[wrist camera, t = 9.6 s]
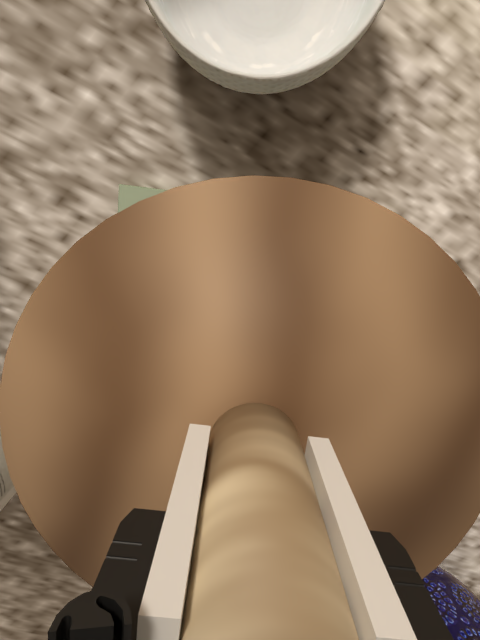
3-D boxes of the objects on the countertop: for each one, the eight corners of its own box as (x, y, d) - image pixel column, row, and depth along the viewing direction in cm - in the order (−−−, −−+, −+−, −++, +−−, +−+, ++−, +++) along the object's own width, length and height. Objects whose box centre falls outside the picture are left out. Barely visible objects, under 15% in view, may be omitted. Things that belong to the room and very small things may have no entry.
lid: (23, 590, 17) (-217, 980, 8) (10, 148, 13) (-561, -77, 4) (425, 628, 18) (616, 1032, 9) (552, 216, 13) (1232, 170, 4)
